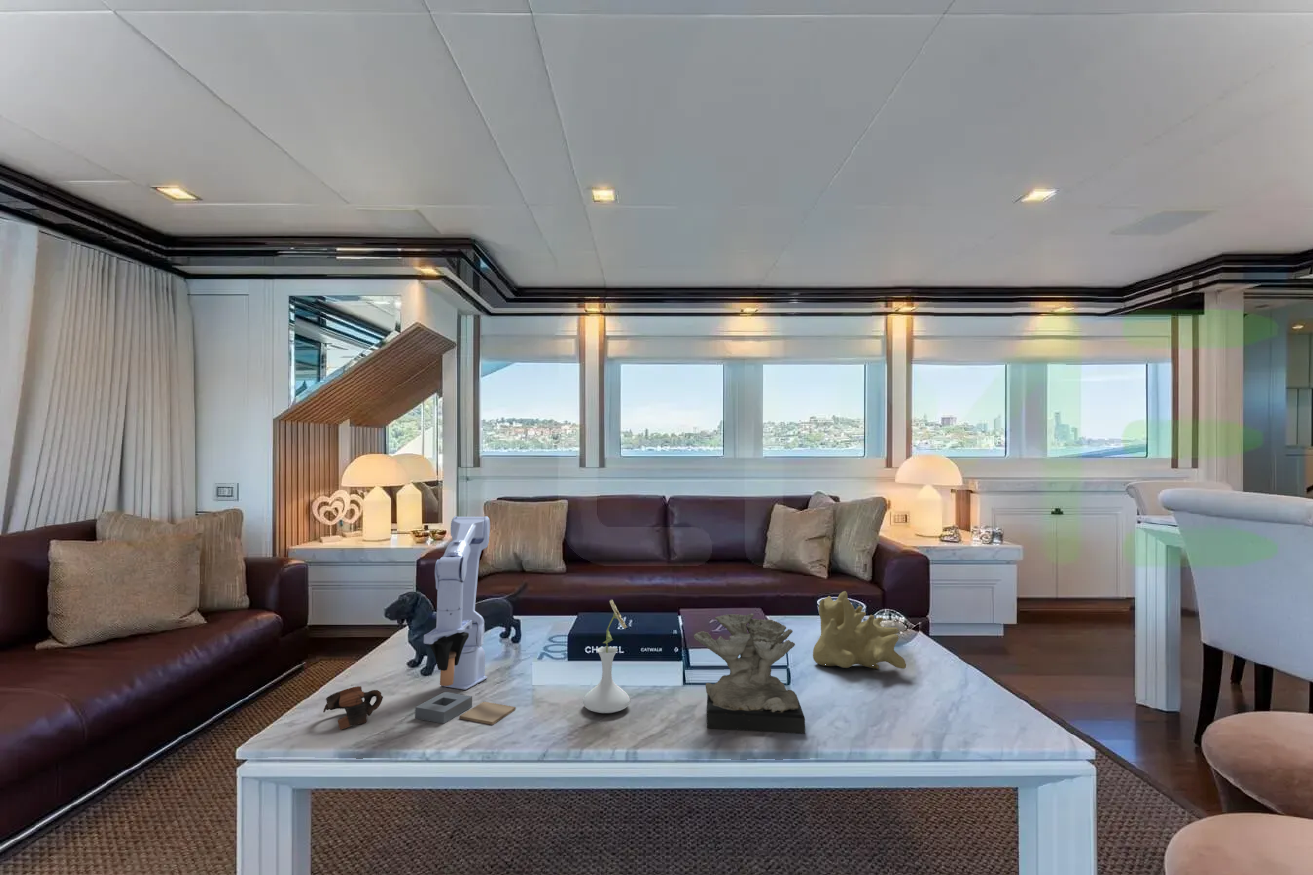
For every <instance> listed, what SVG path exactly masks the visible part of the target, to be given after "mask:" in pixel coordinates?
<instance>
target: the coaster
mask: <svg viewBox="0 0 1313 875" xmlns="http://www.w3.org/2000/svg"><path fill="white" fill-rule="evenodd" d="M516 709H517V708H516V706H511V705H507V704H500V703H496V702H495V703H494V702H488V701H482V702H480V703H479V704H477V705H475V706H474V707H471V708H469V709H468V710H466V711H464V712H463V713H461V714H459V717H458V718H459V720H465V721H470V722H476V723H482V724H486V725H495V724H496V723H498V722H499V721H501V720H503V719H504V718H505V717H507V716H508V715H510V714H511V713H513V712H515V711H516Z"/></svg>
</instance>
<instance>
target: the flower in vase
mask: <svg viewBox="0 0 1313 875" xmlns="http://www.w3.org/2000/svg"><path fill="white" fill-rule="evenodd" d="M609 604H610V606H611V609H612V610H613V616H612V618H610V619H611V620H610V621H609V623H608V626H607V628H606V635H605V636H606V638H605V639H606V640H605V641H603V642H602V644H605V646H602V647H601V646H600V647H598V648H596V651H597V653H598V654H599V657H600V662H601V668H602V669H601V670H602V672H601V679H600V681H599V682H598V684H597V685H596V686H594V687H593V688H592V689H591V690H589V691H588V692H587V693H586V694H585V695H584V696H583V699H582V704H583V706H584V707H585V708H586V710H588V711H591V712H594V713H599V714H612V713H617V712H620V711H623V710H624V709H626V708H627V707H629V704H630V703H631V699H630V697H629V694H628V693H627V692H626V691H625V690H623V689H622V688H621V687H620V686H618V684H616V683H615V681H614V680H613V674H612V670H613V669H612V668H613V661H614V657H615V655H616V653H617V652H618V648H617V647H614V646H609V644H608V643H611V641H613V640H614V639H613V638H612V635H611V632H610V631H609V630H610V627H611V624H612V622H613V620H614V619H617V620H618V623H619V624H620V625H621V627H622V628H623V630H625V629H626V628H628V626H627V625H626V623H625V621H624V619H623V618H622V615H621V614H620V612H619V610H618V608H617V606H616V604H615V602H614V600H613V599H611V600H609Z"/></svg>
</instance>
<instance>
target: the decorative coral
mask: <svg viewBox="0 0 1313 875" xmlns="http://www.w3.org/2000/svg"><path fill="white" fill-rule="evenodd" d="M848 597H849V596H848V593H847V591H846V590H844V591H842V592H840V593H839V595H838V596H837V599H836V600H833V599H832V596H830V595H828V596H827V597H826V598H823V599H821V600H820V601H819V605H818V615H819V618H820V635H819V638H818V639H817V641H816V643H815V644H814V647H813V651H812V658H813V661H814V662H815V663H816V664H817V665H821V666H823V667H835V666H837V667H840V668H843V669H848V668H850V667H853V666H854V665H859V666H863V667H864V668H871V669H874V670H878V669H879V668H880V666H879V664H878V663H881V662H884V663H885V662H886V663H888V664H890V665H892V666H893V667H894V668H897V669H901V670H902V669H903V670H905V669H906V668H907V662H906V661H905V658H904V657H902V656H901V655H900V654H898V653H897V652H896V650H895V647H896V644H897V642H898V641H899V638H900V637H899V636H898V633H899V631H900V630H899V628H898V627H885V626H882V625H881V623H882V622H883V620H884V617H882V616H881V617H880V616H878V617H877V618H875V615H873V614H870V615H869V617H868V618H867V620H863V619H864V617H866V616H867V612H866V611H863V606H861V605H859V606H857V608H856V609H855V607H854V605H853V604H852V603H851V601H850V600H849V598H848ZM825 664H826V665H825ZM872 665H874V666H872Z"/></svg>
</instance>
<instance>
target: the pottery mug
mask: <svg viewBox="0 0 1313 875" xmlns="http://www.w3.org/2000/svg"><path fill="white" fill-rule="evenodd" d="M373 697H375V701H374V702H373V704H371V701H372V699H373ZM363 699H364V700H363ZM383 699H384V696H382V692H381V691H379V689H371V690H370V691H366V692H365V691H363V688H362V686H353V687H352V686H351V687H349V688H345V689H343V690H340V691H337V692H334V693H333V694H330V695H328V696H327V697H326V698H325V701H326V704H325V706H324V708H323V710H322V711H323V713H325V712H326V711H329V710H330V711H333V710H337V709H340V710H341V709H342V710H343V709H344V710H345V713H346V716H343V717H342V718H339V719H337V724H338V727H339V728H338V729H339V730H340V731H342V730H345V729H347V728H350V727H353V726H357V725H358V726H359V725H362V724H364V723H365V724H366V723H367V718H368V717H370V716H372V713H373V711H376V710H377V709H379V707H380V706H381V704H382V701H383Z"/></svg>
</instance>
